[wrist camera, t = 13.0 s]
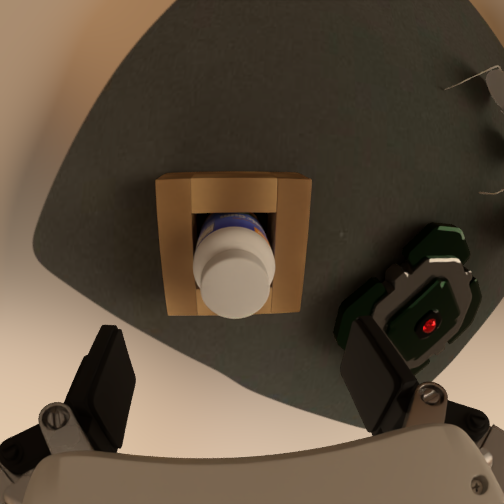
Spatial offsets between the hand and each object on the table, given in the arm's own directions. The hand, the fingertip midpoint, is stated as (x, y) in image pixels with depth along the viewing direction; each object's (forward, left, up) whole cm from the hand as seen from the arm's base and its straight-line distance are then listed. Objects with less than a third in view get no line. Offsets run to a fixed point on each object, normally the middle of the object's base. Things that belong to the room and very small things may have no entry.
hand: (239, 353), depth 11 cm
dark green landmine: (+21, -9, -16) cm, 28 cm away
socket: (0, 0, -15) cm, 15 cm away
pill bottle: (0, 0, -16) cm, 16 cm away
